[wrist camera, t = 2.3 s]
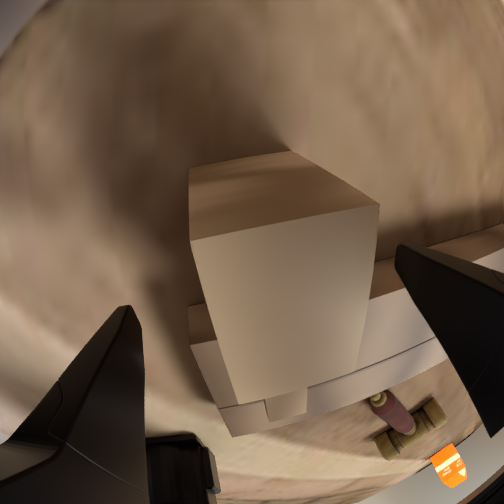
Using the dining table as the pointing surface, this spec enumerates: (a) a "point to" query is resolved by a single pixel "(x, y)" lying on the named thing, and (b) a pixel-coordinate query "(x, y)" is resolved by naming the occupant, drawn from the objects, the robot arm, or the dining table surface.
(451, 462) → the orange juice
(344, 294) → the block
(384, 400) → the gavel
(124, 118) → the dining table surface
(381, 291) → the plank
